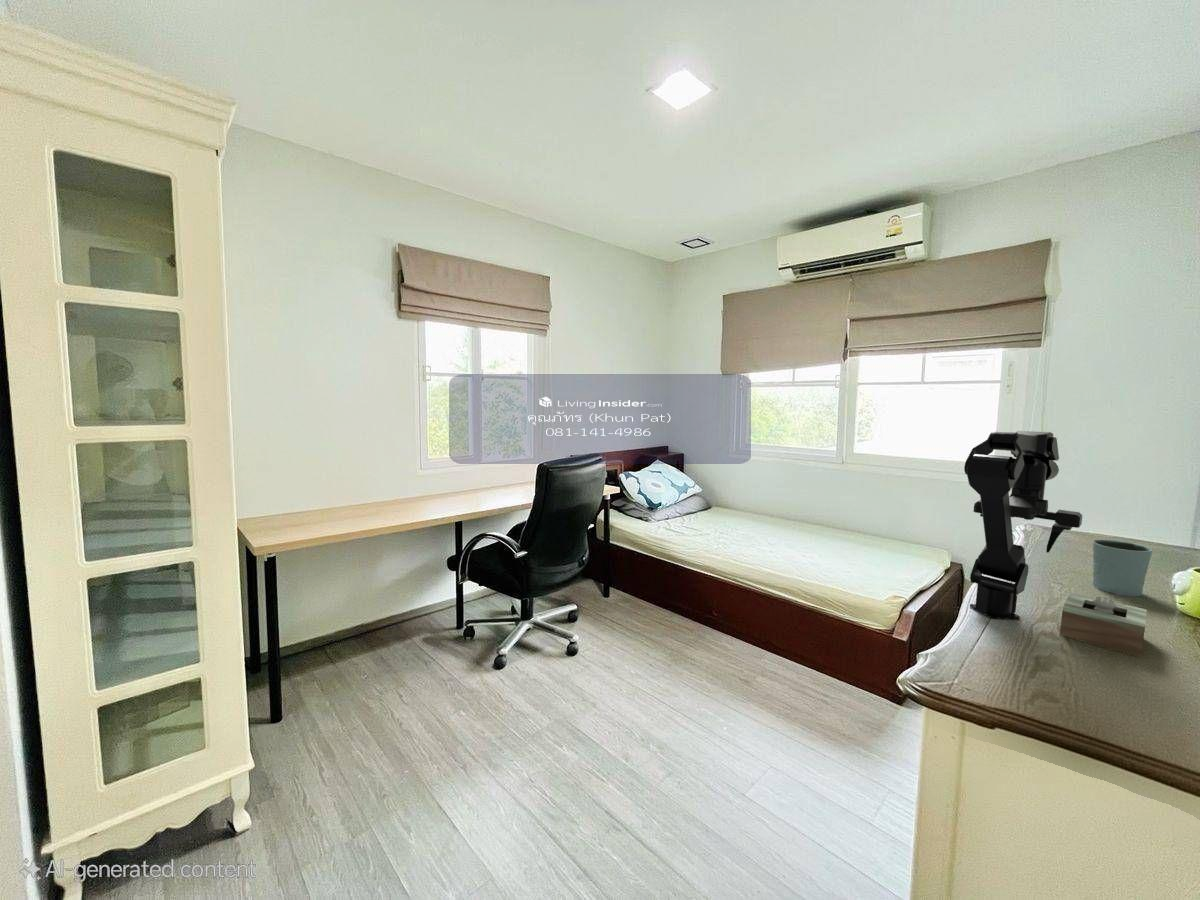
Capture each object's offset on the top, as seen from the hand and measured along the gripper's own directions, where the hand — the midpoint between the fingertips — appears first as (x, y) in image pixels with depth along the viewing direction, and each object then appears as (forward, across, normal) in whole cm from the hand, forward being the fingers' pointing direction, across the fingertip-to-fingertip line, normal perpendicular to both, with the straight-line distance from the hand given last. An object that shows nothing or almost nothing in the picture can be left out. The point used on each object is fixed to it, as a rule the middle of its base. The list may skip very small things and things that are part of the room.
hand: (1021, 547), depth 112 cm
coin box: (+13, +15, -11) cm, 22 cm away
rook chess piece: (+13, +15, -11) cm, 22 cm away
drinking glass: (+13, +15, +29) cm, 35 cm away
